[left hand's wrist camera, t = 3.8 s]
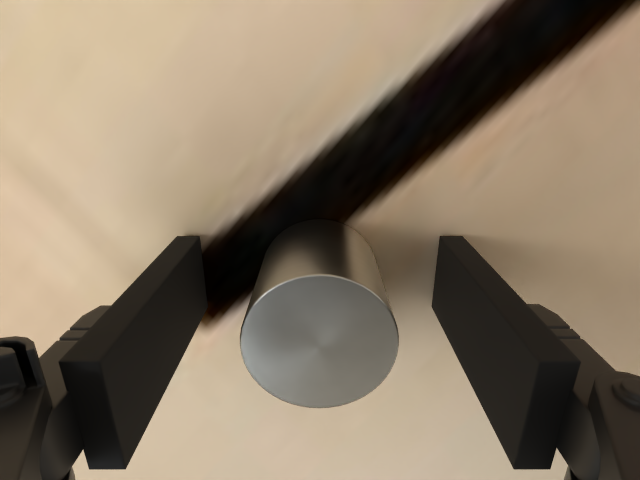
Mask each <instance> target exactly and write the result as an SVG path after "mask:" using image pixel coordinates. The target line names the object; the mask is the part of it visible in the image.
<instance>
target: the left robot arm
mask: <svg viewBox="0 0 640 480" xmlns="http://www.w3.org/2000/svg"><path fill="white" fill-rule="evenodd" d="M207 307H208V304H207V296H206V287H205V278H204V270H203V261H202V253H201V244H200V236H177V237H176V238H175V239H174V240H173V241H172V242H171V243H170V244H169V245H168V246H167V247H166V249H165V250H164V251H163V252H162V253H161V254H160V255H159V256H158V257H157V258H156V259H155V260H154V261H153V262H152V263H151V264H150V265H149V266H148V268H147V269H146V270H145V271H144V272H143V273H142V274H141V275H140V276H139V277H138V278H137V279H136V280H135V281H134V282H133V283H132V284H131V285H130V287H129V288H128V289H127V290H126V291H125V292H124V293H123V294H122V295H121V296H120V297H119V298H118V299H117V300H116V301H115V302H114V303H113V304H112V306H99V307H98V308H96V309H94V310H92V311H90V312H89V313H87V314H85V315H83V316H82V317H81V318H80V319H79V320H78V321H77V322H76V323H75V324H74V325H73V326H72V327H71V328H70V330H68V331H67V332H65V333H64V334H63V335H62V336H61V337H60V340H59V341H56V342H55V343H54V344H53V345H52V346H51V347H50V348H49V349H48V350H47V351H46V352H45V353H44V354H43V355H42V356H41V357H40V358H39V357H38V354H37V351H36V348H35V344H34V342H33V341H31V340H30V339H28V338H25V337H16V336H15V337H6V338H0V480H75V475H74V471H73V468H72V465H73V464H74V462H75V461H76V459H77V458H78V456H79V455H80V453H81V452H82V450H83V449H84V453H85V456H86V460H87V463H88V467H89V469H126V467H127V465H128V463H129V462H130V460H131V458H132V456H133V454H134V452H135V450H136V448H137V446H138V444H139V442H140V440H141V438H142V436H143V434H144V432H145V430H146V428H147V426H148V424H149V422H150V420H151V418H152V416H153V414H154V412H155V410H156V408H157V406H158V404H159V402H160V400H161V398H162V396H163V394H164V392H165V390H166V388H167V386H168V384H169V382H170V380H171V378H172V376H173V375H174V373H175V371H176V369H177V367H178V365H179V363H180V361H181V359H182V357H183V355H184V353H185V351H186V349H187V347H188V345H189V343H190V341H191V339H192V337H193V335H194V333H195V331H196V329H197V327H198V325H199V323H200V321H201V319H202V317H203V315H204V313H205V311H206V309H207ZM432 308H433V310H434V312H435V314H436V316H437V318H438V320H439V322H440V324H441V326H442V328H443V330H444V332H445V334H446V336H447V338H448V340H449V342H450V344H451V346H452V348H453V350H454V352H455V354H456V356H457V358H458V360H459V362H460V364H461V366H462V368H463V370H464V372H465V373H466V375H467V377H468V379H469V381H470V383H471V385H472V387H473V389H474V391H475V393H476V395H477V397H478V399H479V401H480V403H481V405H482V407H483V409H484V411H485V413H486V415H487V417H488V419H489V421H490V423H491V425H492V427H493V429H494V431H495V433H496V435H497V437H498V439H499V441H500V443H501V445H502V447H503V449H504V451H505V453H506V455H507V457H508V459H509V460H510V462H511V464H512V466H513V468H514V469H550V468H551V465H552V461H553V458H554V455H555V451H556V448H557V449H558V450H559V452H560V453H561V455H562V456H563V458H564V459H565V461H566V462H567V464H568V468H567V471H566V475H565V478H564V480H640V376H637V375H633V374H630V373H626V372H618V371H615V370H614V369H613V368H612V367H611V366H610V365H609V364H608V363H607V362H606V361H605V360H604V359H603V358H602V357H601V356H600V355H599V354H598V353H597V352H596V351H595V350H594V349H593V348H591V347H590V346H589V345H588V344H587V343H586V342H585V341H584V340H583V339H580V336H579V335H578V334H577V333H576V332H575V331H574V330H573V329H570V326H569V325H568V324H567V323H566V322H565V321H563V320H562V319H561V318H560V317H559V316H558V315H557V314H555V313H554V312H552V311H550V310H548V309H547V308H545V307H543V306H541V305H539V304H526V303H525V302H524V301H523V300H522V299H521V298H520V297H519V296H518V294H517V293H516V292H515V291H514V290H513V289H512V288H511V287H510V286H509V285H508V284H507V283H506V282H505V281H504V280H503V279H502V278H501V277H500V275H499V274H498V273H497V272H496V271H495V270H494V269H493V268H492V267H491V266H490V265H489V264H488V263H487V262H486V261H485V260H484V259H483V257H482V256H481V255H480V254H479V253H478V252H477V251H476V250H475V249H474V248H473V247H472V246H471V245H470V244H469V243H468V242H467V241H466V240H465V238H464V237H463V236H440V240H439V248H438V257H437V266H436V274H435V283H434V291H433V300H432Z"/></svg>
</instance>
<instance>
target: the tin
mask: <svg viewBox="0 0 640 480" xmlns="http://www.w3.org/2000/svg"><path fill="white" fill-rule="evenodd" d="M398 346H399V335H398V328H397V325H396V322H395V319H394V315H393V312H392V309H391V306H390V303H389V300H388V297H387V294H386V291H385V288H384V285H383V282H382V278H381V275H380V272H379V269H378V266H377V263H376V260H375V257H374V254H373V252H372V250H371V247H370V246H369V244H368V243H367V241H366V240H365V239H364V238H363V237H362V236H361V235H360V234H359V233H358V232H357V231H355V230H354V229H352V228H351V227H349V226H347V225H345V224H343V223H340V222H337V221H332V220H327V219H312V220H306V221H302V222H299V223H296V224H294V225H292V226H290V227H288V228H287V229H285V230H283V231H282V232H281V233H280V234H279V235H278V236H277V237H276V238H275V239H274V240H273V241H272V243H271V244H270V246H269V247H268V249H267V251H266V253H265V256H264V260H263V263H262V266H261V269H260V272H259V275H258V278H257V281H256V284H255V287H254V290H253V293H252V296H251V299H250V303H249V306H248V309H247V312H246V315H245V318H244V321H243V324H242V327H241V333H240V348H241V354H242V357H243V360H244V363H245V365H246V367H247V369H248V371H249V373H250V374H251V376H252V377H253V378H254V380H255V381H256V382H257V383H258V384H259V385H260V386H261V387H262V388H263V389H265V390H266V391H267V392H269V393H270V394H272V395H273V396H275V397H277V398H279V399H281V400H283V401H285V402H288V403H290V404H294V405H298V406H303V407H309V408H329V407H336V406H341V405H345V404H348V403H351V402H353V401H356V400H358V399H360V398H362V397H364V396H366V395H367V394H369V393H370V392H372V391H373V390H374V389H375V388H376V387H378V386H379V385H380V384H381V383H382V381H383V380H384V379H385V378H386V377H387V375H388V374H389V372H390V371H391V369H392V367H393V365H394V362H395V359H396V356H397V352H398Z"/></svg>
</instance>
